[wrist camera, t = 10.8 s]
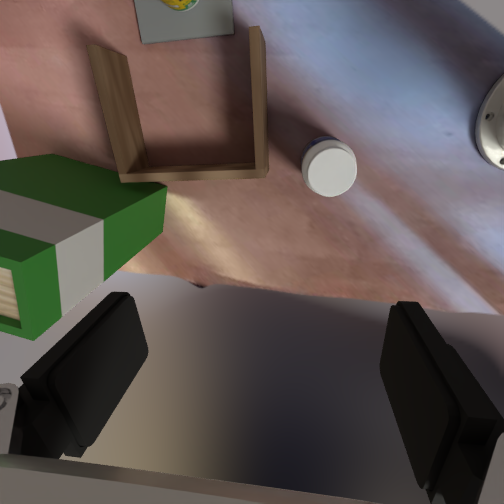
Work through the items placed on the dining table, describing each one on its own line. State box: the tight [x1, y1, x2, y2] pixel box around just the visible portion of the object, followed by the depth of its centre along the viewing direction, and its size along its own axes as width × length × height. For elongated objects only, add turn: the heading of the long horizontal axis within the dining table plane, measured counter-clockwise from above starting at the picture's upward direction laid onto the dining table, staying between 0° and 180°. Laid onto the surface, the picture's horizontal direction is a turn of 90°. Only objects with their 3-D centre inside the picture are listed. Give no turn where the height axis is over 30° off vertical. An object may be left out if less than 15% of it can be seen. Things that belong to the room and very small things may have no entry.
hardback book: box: [0, 154, 167, 341], centre depth 31 cm, size 18×7×24 cm, turn 76°
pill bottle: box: [301, 136, 357, 197], centre depth 31 cm, size 6×6×10 cm
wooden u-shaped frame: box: [86, 26, 269, 183], centre depth 33 cm, size 18×14×6 cm
